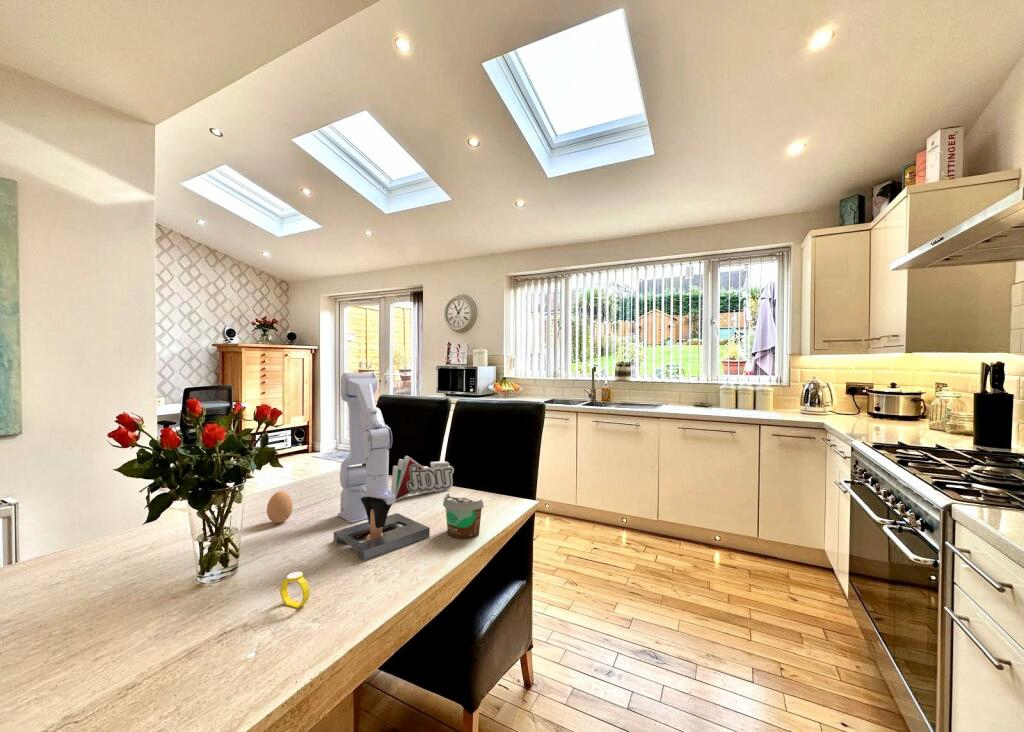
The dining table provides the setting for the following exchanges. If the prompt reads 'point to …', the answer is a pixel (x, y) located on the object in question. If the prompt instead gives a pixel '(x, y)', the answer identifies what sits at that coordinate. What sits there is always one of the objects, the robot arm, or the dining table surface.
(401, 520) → the keyhole plate
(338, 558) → the dining table surface
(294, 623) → the dining table surface
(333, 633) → the dining table surface
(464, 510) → the food container
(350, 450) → the robot arm
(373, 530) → the peg
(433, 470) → the decorative sign
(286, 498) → the egg
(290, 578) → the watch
